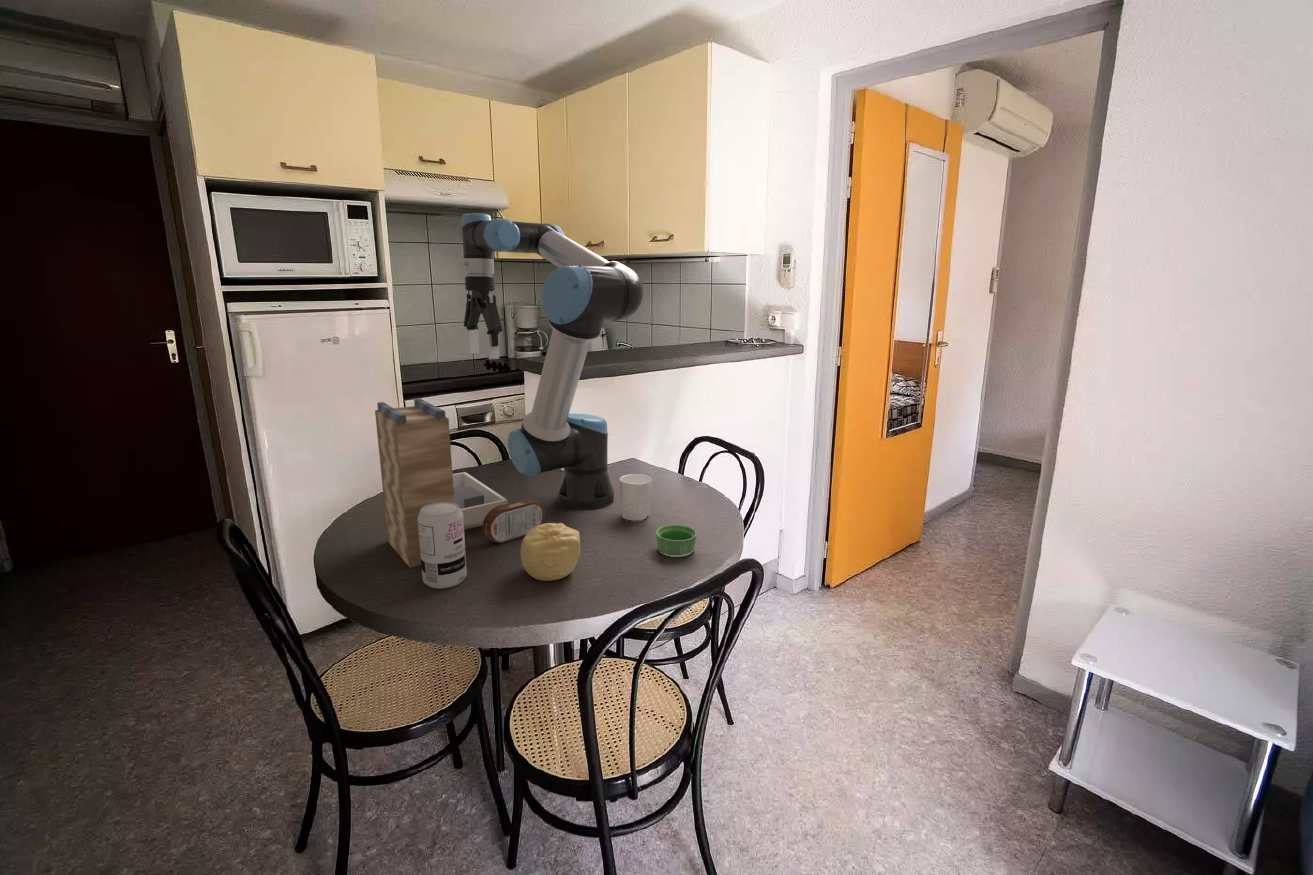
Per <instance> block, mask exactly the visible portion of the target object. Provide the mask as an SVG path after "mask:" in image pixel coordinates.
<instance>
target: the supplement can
mask: <svg viewBox="0 0 1313 875" xmlns="http://www.w3.org/2000/svg"><path fill="white" fill-rule="evenodd" d="M417 521H418V532H419V544H420V555H421V565H420V566H421V576H422V577H421V578H422V581H423V583H424V584H425V585H426V586H427V587H430V588H432V589H449V588H453V587H455V586H458V585H459V584H461V583H462V582H463V581H464V580H465V578H466V577H467V575H468V571H467V569H468V568H467V557H466V556H467V555H466V543H465V542H466V540H465V539H466V538H465V530H464V523H463V512H462V511H461V509H460V508H459V505H458V504H456V503H452V502H438V503H432V504H428V505H426V506H424V507H422V508H421V510H420V513H419V515H418V518H417Z"/></svg>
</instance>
